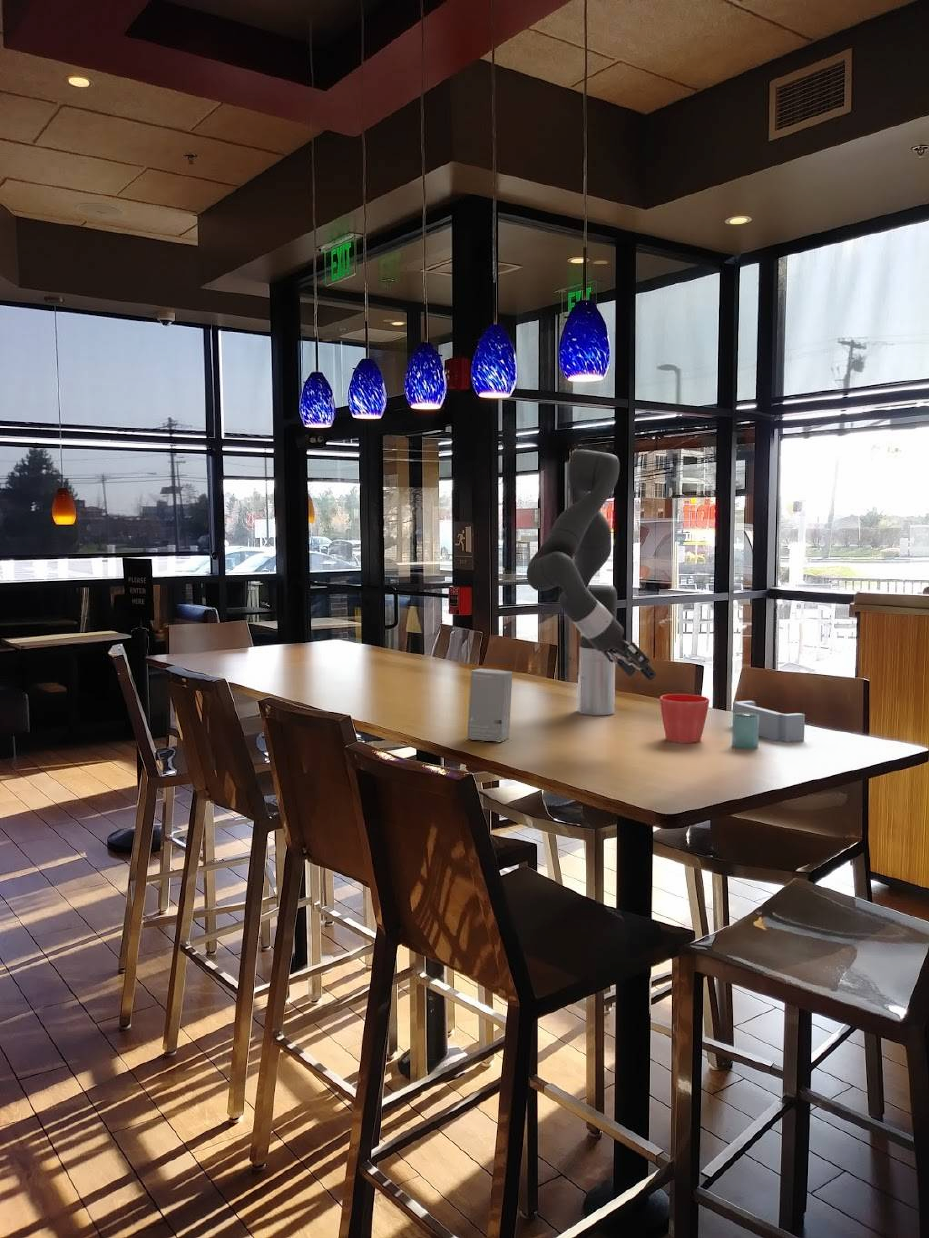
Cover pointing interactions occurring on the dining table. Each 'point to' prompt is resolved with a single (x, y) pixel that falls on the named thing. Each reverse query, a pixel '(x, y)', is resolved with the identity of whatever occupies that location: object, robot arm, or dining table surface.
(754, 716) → the tumbler
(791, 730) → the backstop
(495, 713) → the skincare box
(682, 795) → the dining table surface
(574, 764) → the dining table surface
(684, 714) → the flower pot
